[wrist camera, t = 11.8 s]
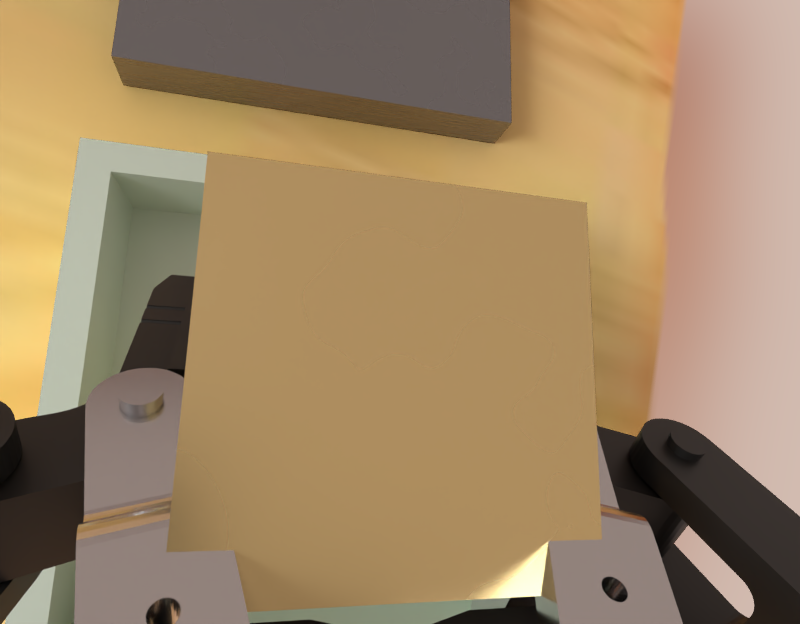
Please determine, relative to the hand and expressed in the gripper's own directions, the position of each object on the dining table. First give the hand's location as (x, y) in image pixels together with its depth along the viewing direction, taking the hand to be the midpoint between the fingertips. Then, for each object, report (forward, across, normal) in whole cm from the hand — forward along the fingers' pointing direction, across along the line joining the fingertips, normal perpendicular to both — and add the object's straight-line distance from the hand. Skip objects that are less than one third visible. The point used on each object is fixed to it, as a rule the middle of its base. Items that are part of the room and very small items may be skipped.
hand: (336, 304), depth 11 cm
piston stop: (+2, 0, +4) cm, 4 cm away
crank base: (+17, 0, -8) cm, 18 cm away
